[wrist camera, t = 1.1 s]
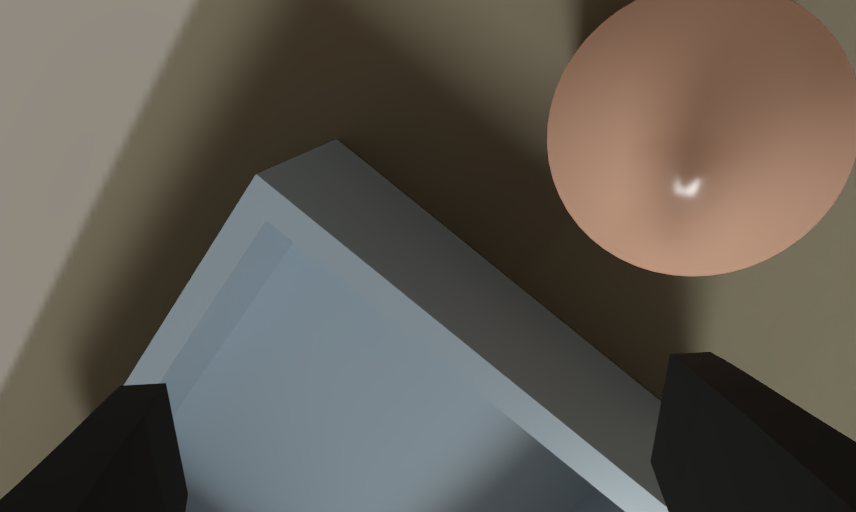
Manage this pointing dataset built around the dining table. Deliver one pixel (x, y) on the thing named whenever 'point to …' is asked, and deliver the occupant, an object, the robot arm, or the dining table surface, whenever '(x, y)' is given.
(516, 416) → the tote
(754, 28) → the terracotta capsule
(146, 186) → the dining table surface
